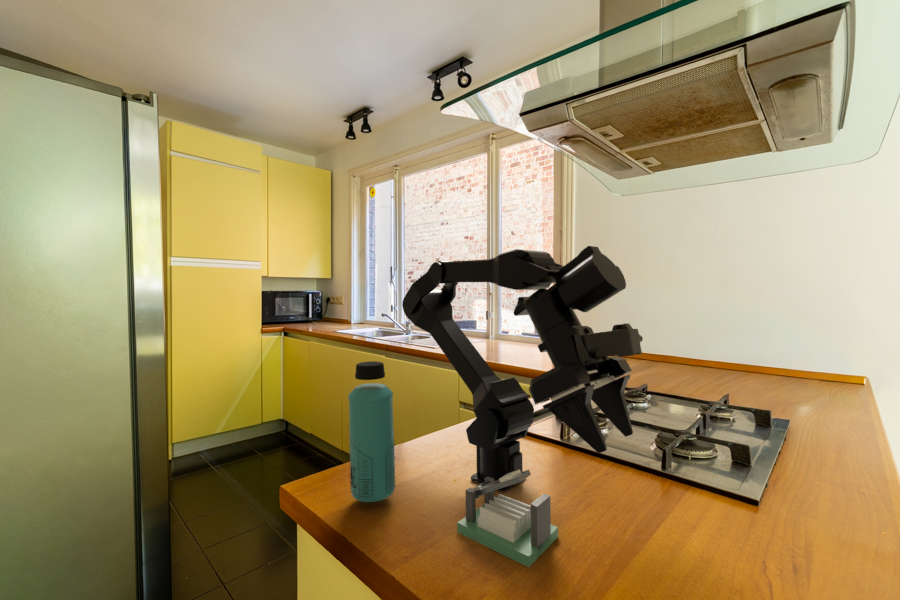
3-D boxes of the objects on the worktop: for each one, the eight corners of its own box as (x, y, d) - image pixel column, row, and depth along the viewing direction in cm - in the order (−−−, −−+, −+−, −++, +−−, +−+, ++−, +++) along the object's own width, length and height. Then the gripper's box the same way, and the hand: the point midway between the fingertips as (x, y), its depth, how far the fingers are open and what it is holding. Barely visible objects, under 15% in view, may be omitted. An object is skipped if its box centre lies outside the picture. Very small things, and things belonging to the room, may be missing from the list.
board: (457, 532, 49) (456, 485, 49) (489, 508, 55) (489, 466, 55) (528, 567, 43) (528, 514, 43) (558, 537, 48) (557, 489, 48)
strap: (473, 499, 51) (469, 489, 51) (484, 492, 52) (480, 482, 53) (521, 484, 46) (516, 473, 46) (532, 477, 48) (527, 466, 48)
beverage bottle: (405, 501, 57) (403, 361, 57) (365, 520, 52) (362, 368, 52) (379, 485, 62) (377, 356, 61) (340, 502, 57) (337, 362, 57)
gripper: (580, 294, 43) (659, 437, 37) (635, 302, 57) (698, 407, 51) (504, 341, 49) (561, 470, 43) (570, 338, 63) (620, 435, 57)
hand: (617, 442), depth 49 cm, fingers open, 9 cm apart
